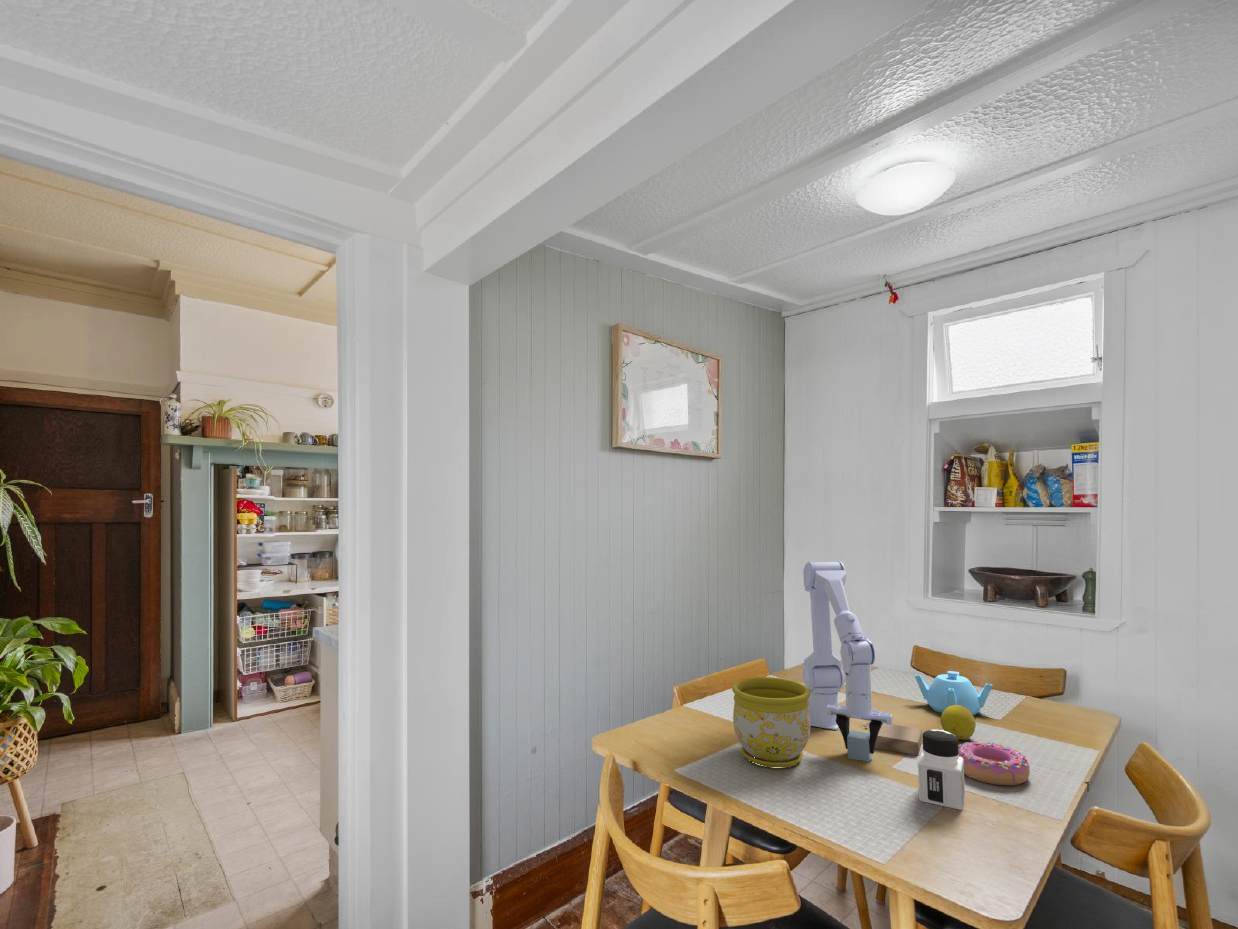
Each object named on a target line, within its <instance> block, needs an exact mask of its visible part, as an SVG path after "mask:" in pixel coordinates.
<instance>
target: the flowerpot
mask: <svg viewBox="0 0 1238 929" xmlns="http://www.w3.org/2000/svg"><path fill="white" fill-rule="evenodd" d="M731 688H732V690H731V691H732V693H733V694H734V695H733V700H734V704H733V710H732V711H733V714H732V718H733V719H732V721H733V722H732V724H733V729H734V730H733V731H734V734H735V736H736V739H737V740H738V742H739V743H740V746H741V748H740V752H741V754H742V755H743V756H745V759H746V758H747V759H748V760H750V761H752V762H754V763H757V764H760V765H763V766H766V767H789V768H792V767H791V766H793V767H795V766H796V765H798V764H799V762H800V761H801V760H802V759H803V758H804V753H803V750H804V749H805V747H806V746H807V745H808V741H809V739H810V734H811V726H810V714H809V709H808V705H809V701H808V698H809V696H810V690H809V688H808V687H807V686H805V684H803V683H801V682H798V681H796V680H791V679H789V678H788V679H787V678H782V677H781V678H780V677H771V676H756V677H755V676H753V677H746V678H743V679H739V680H737V681H735V682H734V683H733V684H732V686H731ZM754 757H755V758H754ZM747 759H746V760H747ZM748 760H747V761H748ZM750 761H749V762H750ZM797 763H798V764H797ZM794 765H795V766H794Z"/></svg>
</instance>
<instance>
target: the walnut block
mask: <svg viewBox="0 0 1238 929" xmlns="http://www.w3.org/2000/svg"><path fill="white" fill-rule="evenodd" d="M922 734H923V730H922V728H917V727H911V726H910V727H909V726H905V725H898V724H893V723H892V725H888V724H887V723H883V724H882V726H881V728H880V730H879V733H878V736H877V739H876V743H875V749H881V750H885V751H886V750H887V751H892V752H897V753H904V754H908V755H915V756H920V751H921V746H922V744H923V738H922Z"/></svg>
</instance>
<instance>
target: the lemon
mask: <svg viewBox="0 0 1238 929" xmlns="http://www.w3.org/2000/svg"><path fill="white" fill-rule="evenodd" d="M940 724H941V727H942V730H943V731H947V732H949V733H951V734H953V735H955V736H956V737H957V738H958V741H965V740H968V739H970V738H971V737H973V734H974V733H975V730H976V718H975V716H974V715H972V714H971V712H970V711H969V710H968V709H966V708H965V707H963V706H960V705H952V706H949V707H947V708H946V709H945V710H944V711H943V713H941V715H940Z"/></svg>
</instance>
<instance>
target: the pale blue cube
mask: <svg viewBox="0 0 1238 929" xmlns="http://www.w3.org/2000/svg"><path fill="white" fill-rule="evenodd" d="M847 748H848V749H847V759H851V760H852V759H853V760H857V761H861V760H863V761H862V762H867V763H870V761H871V759H872V757H873V755H874V754H871V753H870V732H864V731H859V730H854V729H853V730H852V729H850V730H849V734H848V736H847Z"/></svg>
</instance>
